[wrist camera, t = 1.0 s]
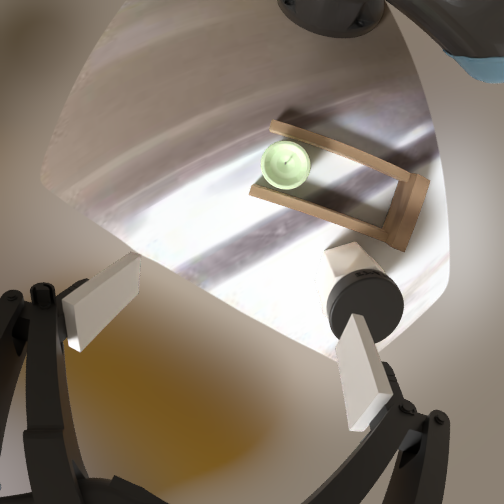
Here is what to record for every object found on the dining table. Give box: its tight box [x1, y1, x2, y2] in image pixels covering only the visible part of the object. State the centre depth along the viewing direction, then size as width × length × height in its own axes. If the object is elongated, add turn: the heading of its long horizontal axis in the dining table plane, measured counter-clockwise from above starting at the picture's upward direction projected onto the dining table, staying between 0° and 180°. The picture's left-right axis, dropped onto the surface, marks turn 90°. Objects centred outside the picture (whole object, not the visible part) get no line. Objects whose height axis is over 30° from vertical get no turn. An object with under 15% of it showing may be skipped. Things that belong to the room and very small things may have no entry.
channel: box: [249, 120, 430, 252], centre depth 31 cm, size 9×20×5 cm, turn 73°
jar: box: [315, 242, 404, 344], centre depth 31 cm, size 9×8×12 cm
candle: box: [261, 141, 311, 189], centre depth 30 cm, size 5×5×8 cm
